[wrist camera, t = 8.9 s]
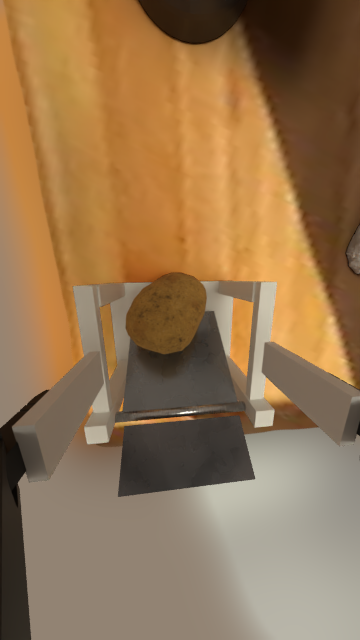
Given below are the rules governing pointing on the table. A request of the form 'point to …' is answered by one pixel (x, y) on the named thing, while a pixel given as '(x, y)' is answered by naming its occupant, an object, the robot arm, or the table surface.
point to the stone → (354, 252)
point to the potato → (167, 313)
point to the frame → (92, 340)
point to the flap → (176, 401)
